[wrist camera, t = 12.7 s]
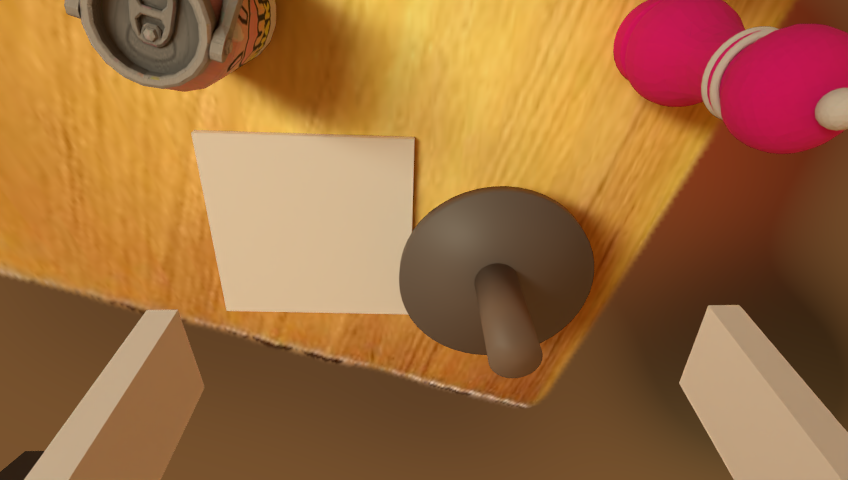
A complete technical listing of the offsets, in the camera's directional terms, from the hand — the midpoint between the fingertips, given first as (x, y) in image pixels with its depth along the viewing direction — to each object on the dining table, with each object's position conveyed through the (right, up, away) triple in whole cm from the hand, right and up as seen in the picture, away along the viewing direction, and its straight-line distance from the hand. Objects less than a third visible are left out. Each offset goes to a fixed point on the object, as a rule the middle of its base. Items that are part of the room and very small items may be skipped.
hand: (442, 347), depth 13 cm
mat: (-11, +4, +33) cm, 35 cm away
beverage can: (-15, +20, +23) cm, 34 cm away
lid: (+5, 0, +29) cm, 30 cm away
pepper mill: (+17, +18, +25) cm, 35 cm away
